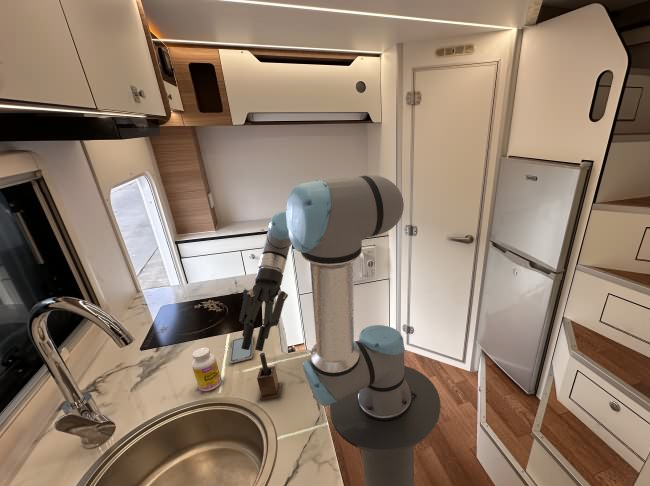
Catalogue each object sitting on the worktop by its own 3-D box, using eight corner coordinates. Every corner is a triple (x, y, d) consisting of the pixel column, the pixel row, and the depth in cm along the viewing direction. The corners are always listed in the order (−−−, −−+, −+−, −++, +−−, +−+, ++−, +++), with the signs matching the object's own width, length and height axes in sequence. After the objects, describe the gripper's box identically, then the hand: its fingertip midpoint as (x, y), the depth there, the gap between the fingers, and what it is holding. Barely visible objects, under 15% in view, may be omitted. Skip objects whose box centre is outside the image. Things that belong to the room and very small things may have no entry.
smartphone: (252, 335, 126) (252, 356, 113) (253, 337, 126) (252, 358, 113) (232, 339, 124) (229, 362, 111) (233, 341, 124) (230, 364, 111)
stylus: (273, 387, 98) (265, 352, 93) (272, 391, 97) (264, 355, 92) (268, 388, 98) (260, 352, 93) (267, 392, 97) (259, 355, 92)
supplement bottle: (206, 395, 98) (195, 361, 93) (195, 387, 101) (183, 354, 96) (226, 381, 103) (217, 349, 98) (214, 374, 107) (204, 343, 102)
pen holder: (281, 384, 101) (277, 364, 98) (279, 397, 96) (274, 376, 93) (263, 387, 100) (258, 367, 97) (259, 400, 95) (254, 379, 92)
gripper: (301, 276, 98) (285, 353, 89) (252, 274, 101) (232, 349, 92) (291, 267, 91) (272, 350, 82) (239, 265, 94) (216, 345, 85)
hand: (251, 349), depth 87 cm, fingers open, 3 cm apart
